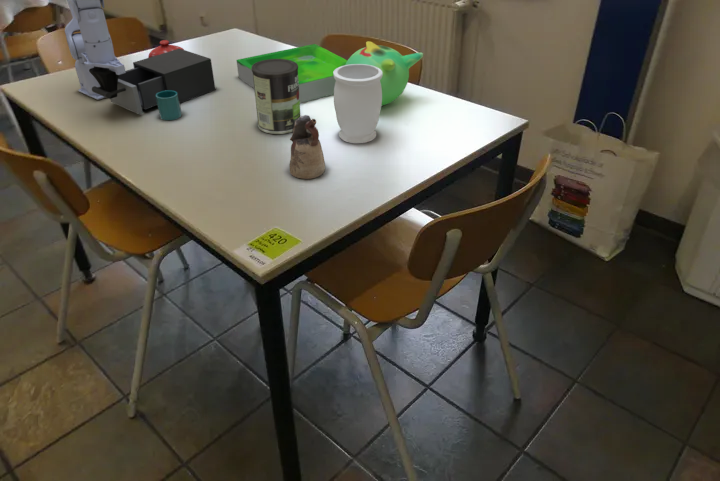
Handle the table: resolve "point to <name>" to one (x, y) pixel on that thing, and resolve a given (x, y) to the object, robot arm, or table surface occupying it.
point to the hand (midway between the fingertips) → (112, 97)
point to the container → (168, 105)
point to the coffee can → (276, 95)
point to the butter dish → (163, 48)
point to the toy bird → (387, 67)
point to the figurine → (306, 150)
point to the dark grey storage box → (182, 72)
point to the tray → (301, 69)
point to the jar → (357, 101)
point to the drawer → (135, 89)
